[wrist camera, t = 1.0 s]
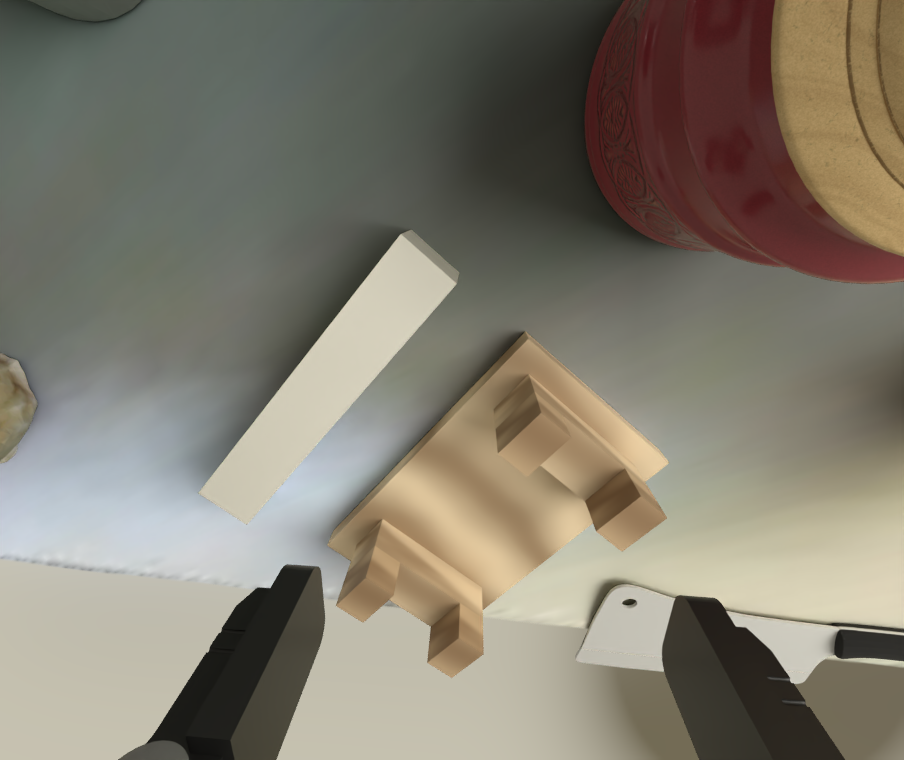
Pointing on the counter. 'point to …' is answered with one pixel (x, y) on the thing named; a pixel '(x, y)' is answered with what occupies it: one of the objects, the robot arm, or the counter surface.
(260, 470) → the cream white rectangular bar
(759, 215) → the canister
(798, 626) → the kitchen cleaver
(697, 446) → the counter surface
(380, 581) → the wooden plate with pegs
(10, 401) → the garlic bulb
